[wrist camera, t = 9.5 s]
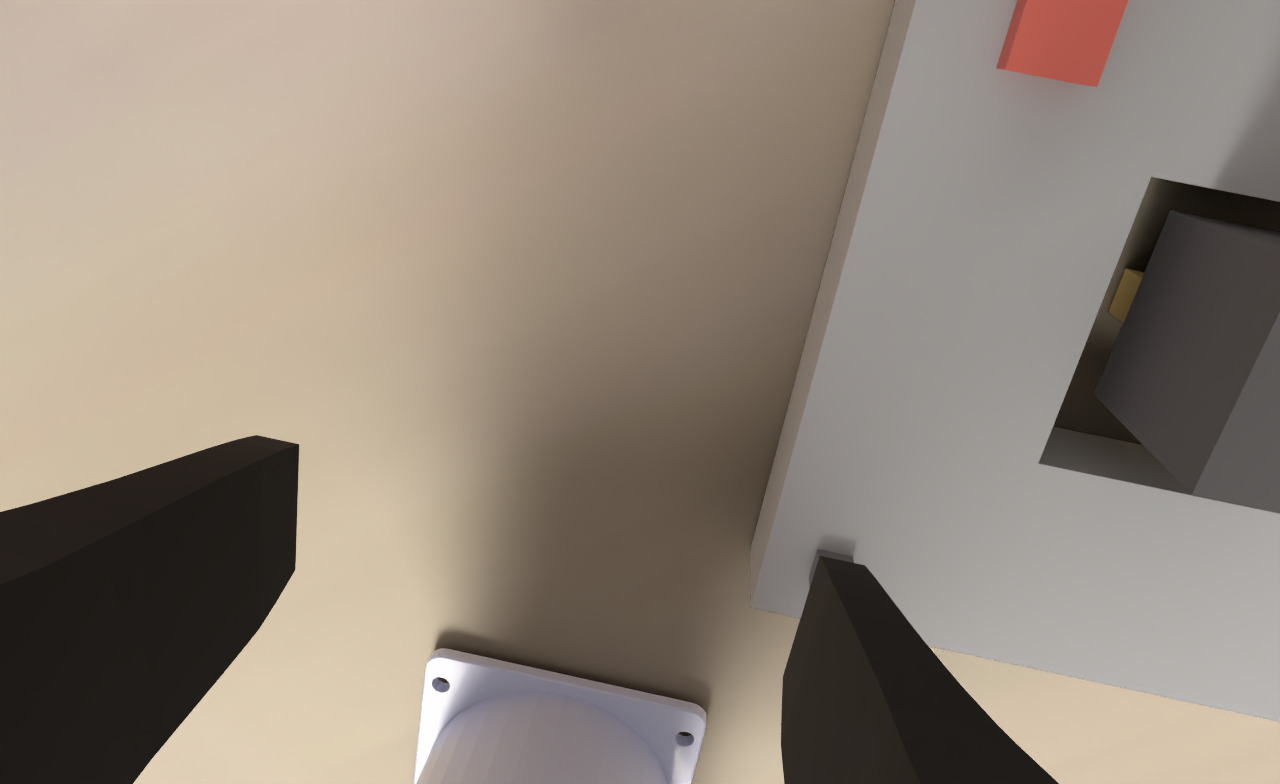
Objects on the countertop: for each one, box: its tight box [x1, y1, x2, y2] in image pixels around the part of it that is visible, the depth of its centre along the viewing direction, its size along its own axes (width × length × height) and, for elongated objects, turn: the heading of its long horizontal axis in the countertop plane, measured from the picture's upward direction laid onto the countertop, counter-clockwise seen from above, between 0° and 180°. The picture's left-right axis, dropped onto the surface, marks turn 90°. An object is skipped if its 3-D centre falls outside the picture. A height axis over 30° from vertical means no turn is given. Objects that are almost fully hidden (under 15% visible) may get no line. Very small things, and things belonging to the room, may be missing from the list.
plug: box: [1094, 210, 1280, 513], centre depth 17 cm, size 4×4×6 cm
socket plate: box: [750, 0, 1280, 722], centre depth 18 cm, size 16×16×3 cm
